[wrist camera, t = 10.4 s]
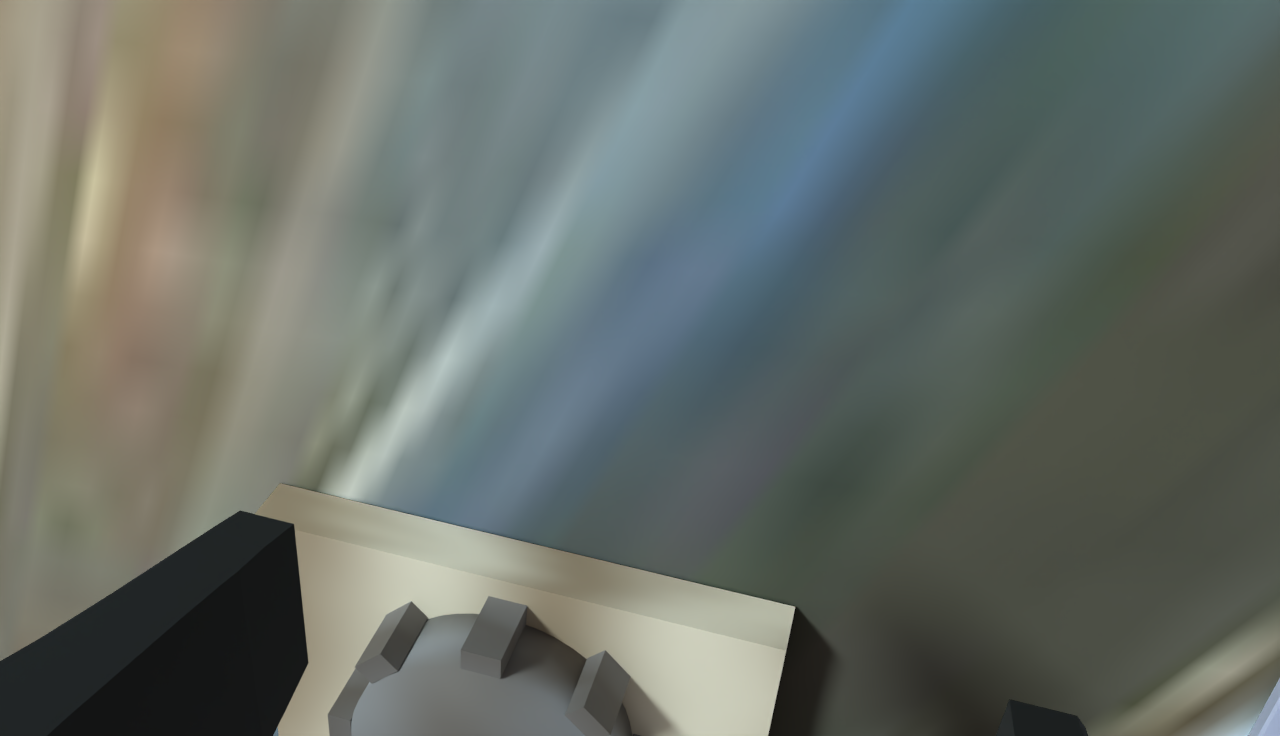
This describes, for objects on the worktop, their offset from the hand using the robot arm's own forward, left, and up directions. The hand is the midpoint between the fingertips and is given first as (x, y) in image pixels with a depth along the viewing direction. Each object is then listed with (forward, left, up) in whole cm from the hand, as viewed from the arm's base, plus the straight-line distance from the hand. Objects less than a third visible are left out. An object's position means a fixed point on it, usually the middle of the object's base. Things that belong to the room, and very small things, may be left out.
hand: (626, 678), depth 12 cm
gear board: (+4, +18, -9) cm, 21 cm away
